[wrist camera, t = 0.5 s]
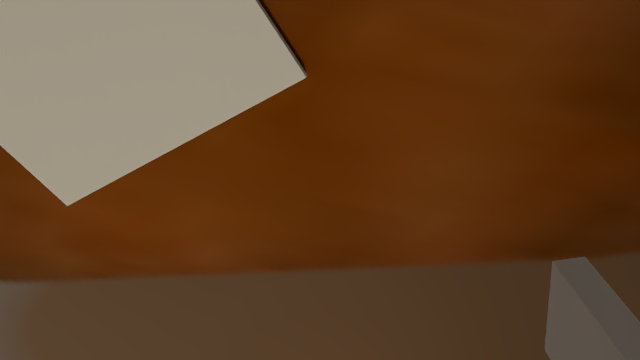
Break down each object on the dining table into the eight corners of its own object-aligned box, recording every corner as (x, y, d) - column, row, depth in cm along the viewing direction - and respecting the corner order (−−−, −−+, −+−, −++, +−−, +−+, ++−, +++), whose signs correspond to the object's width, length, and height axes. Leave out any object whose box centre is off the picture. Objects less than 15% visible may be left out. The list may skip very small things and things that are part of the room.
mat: (107, -232, 27) (103, -231, 26) (306, 73, 36) (306, 77, 36) (-163, -13, 33) (-170, -10, 32) (69, 200, 42) (67, 206, 42)
